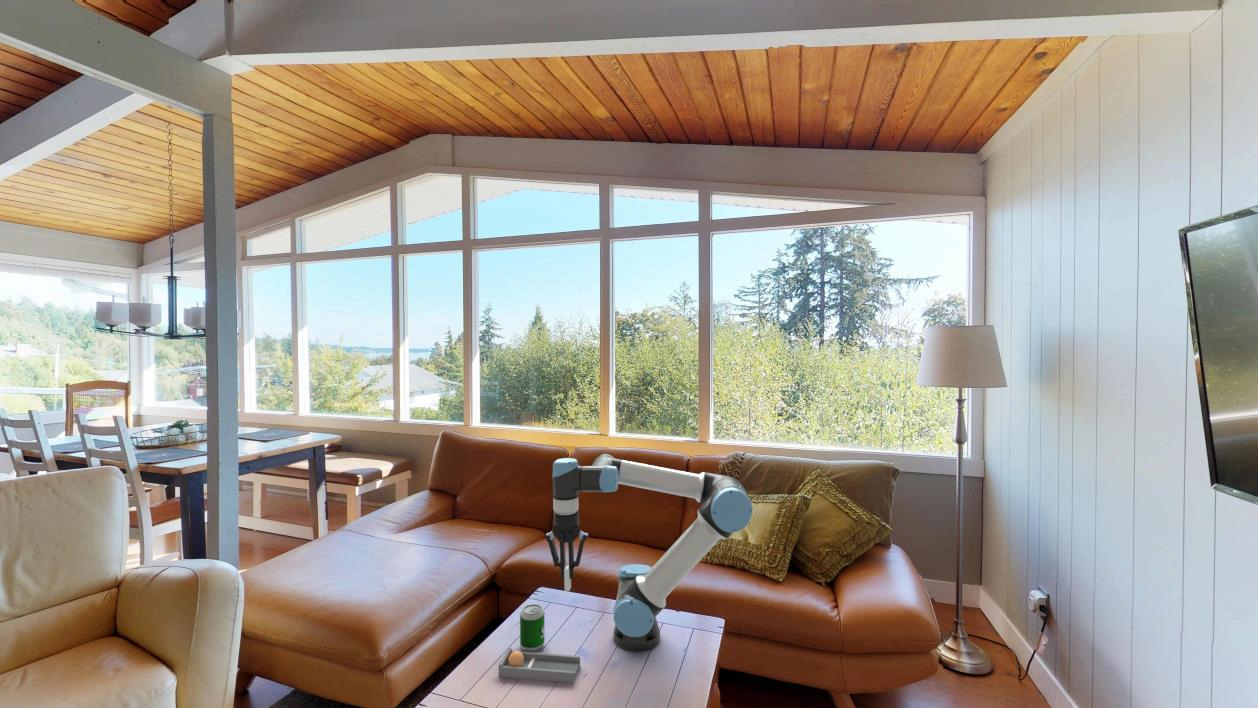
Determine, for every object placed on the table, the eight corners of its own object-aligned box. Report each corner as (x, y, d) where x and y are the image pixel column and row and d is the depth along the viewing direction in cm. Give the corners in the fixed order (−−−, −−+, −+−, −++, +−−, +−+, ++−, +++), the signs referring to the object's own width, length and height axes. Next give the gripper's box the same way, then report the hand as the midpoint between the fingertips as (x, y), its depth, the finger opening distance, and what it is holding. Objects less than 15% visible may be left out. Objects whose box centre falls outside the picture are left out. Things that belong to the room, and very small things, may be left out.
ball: (523, 663, 160) (527, 651, 159) (517, 674, 155) (522, 662, 154) (509, 656, 160) (514, 645, 159) (504, 668, 156) (508, 656, 155)
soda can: (539, 654, 165) (539, 616, 165) (516, 651, 167) (516, 613, 166) (547, 641, 173) (547, 604, 172) (525, 638, 174) (525, 601, 174)
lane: (580, 665, 160) (580, 653, 160) (574, 683, 152) (574, 670, 152) (508, 659, 163) (508, 648, 162) (498, 676, 154) (498, 664, 154)
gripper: (589, 507, 165) (590, 583, 166) (546, 507, 165) (548, 583, 166) (586, 515, 157) (587, 594, 158) (541, 515, 158) (543, 594, 159)
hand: (567, 588), depth 162 cm, fingers closed
